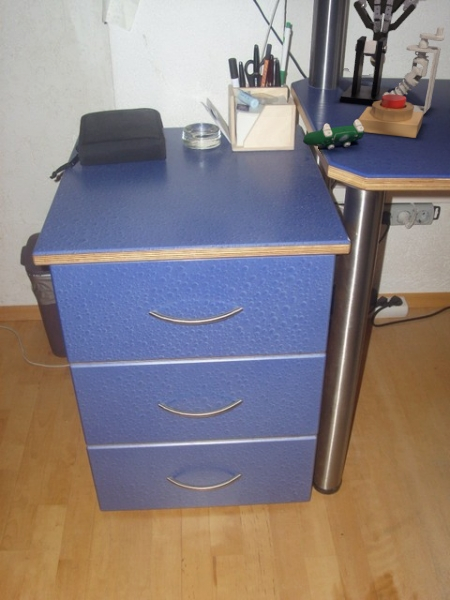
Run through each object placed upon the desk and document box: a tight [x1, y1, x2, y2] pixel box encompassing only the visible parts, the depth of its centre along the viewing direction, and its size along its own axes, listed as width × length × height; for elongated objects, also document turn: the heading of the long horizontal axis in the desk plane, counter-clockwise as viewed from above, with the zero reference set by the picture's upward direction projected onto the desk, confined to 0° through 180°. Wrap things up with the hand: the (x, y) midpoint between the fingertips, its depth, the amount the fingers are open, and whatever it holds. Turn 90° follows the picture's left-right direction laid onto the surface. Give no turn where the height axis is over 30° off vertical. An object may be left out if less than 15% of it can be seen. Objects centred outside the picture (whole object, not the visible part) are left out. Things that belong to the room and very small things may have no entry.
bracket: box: [339, 35, 390, 106], centre depth 119 cm, size 10×8×11 cm
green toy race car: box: [302, 118, 365, 150], centre depth 96 cm, size 9×4×6 cm
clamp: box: [383, 26, 445, 115], centre depth 111 cm, size 4×10×15 cm, turn 62°
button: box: [381, 94, 407, 109], centre depth 103 cm, size 4×4×2 cm
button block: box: [358, 100, 425, 139], centre depth 104 cm, size 10×8×4 cm
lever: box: [363, 39, 387, 68], centre depth 122 cm, size 14×3×3 cm, turn 158°
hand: (378, 51), depth 126 cm, fingers closed
